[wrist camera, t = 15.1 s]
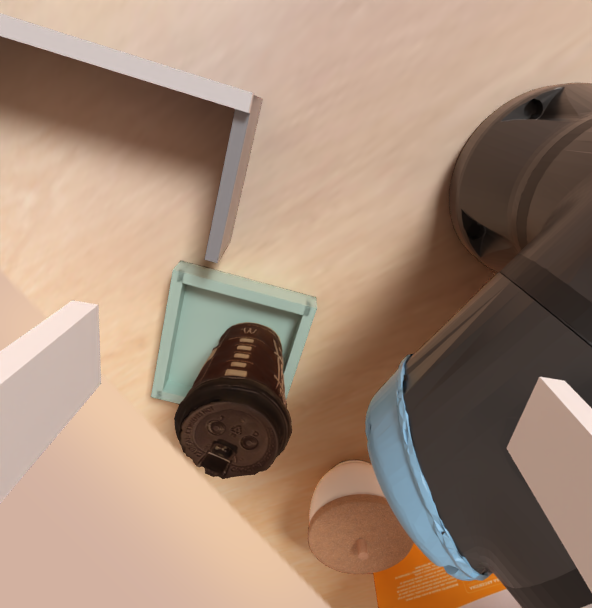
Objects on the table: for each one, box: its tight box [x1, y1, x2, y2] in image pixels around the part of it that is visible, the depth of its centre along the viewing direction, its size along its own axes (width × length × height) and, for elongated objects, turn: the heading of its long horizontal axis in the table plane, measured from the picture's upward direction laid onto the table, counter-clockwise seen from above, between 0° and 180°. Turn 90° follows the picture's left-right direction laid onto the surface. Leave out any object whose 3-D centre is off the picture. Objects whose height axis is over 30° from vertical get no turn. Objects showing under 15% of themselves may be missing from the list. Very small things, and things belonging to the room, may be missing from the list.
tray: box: [151, 261, 317, 404], centre depth 41 cm, size 13×14×2 cm
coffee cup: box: [174, 322, 292, 479], centre depth 35 cm, size 9×8×13 cm
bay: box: [0, 13, 263, 263], centre depth 31 cm, size 24×12×7 cm, turn 74°
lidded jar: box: [308, 460, 414, 574], centre depth 45 cm, size 11×11×9 cm
